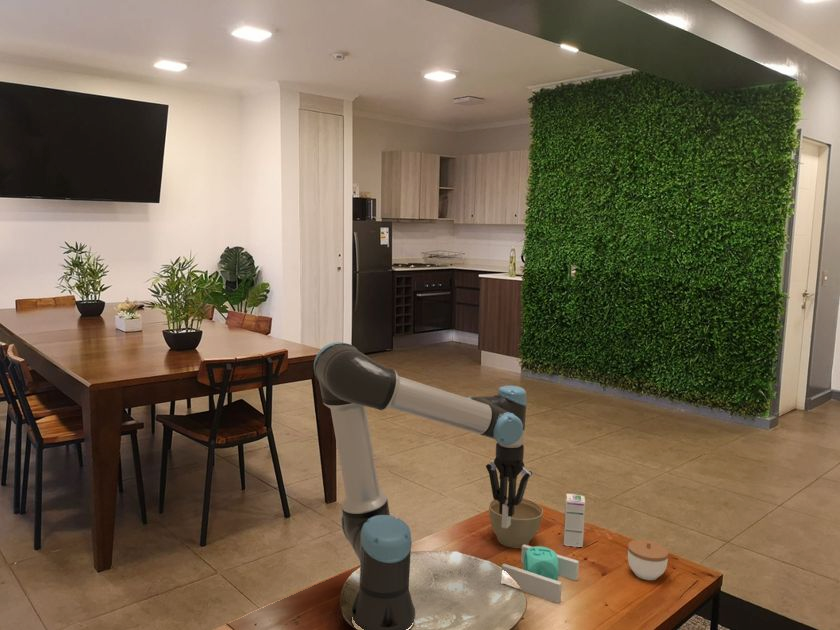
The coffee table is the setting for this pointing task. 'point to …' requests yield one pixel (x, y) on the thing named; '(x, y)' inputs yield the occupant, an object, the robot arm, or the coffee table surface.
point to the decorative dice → (541, 562)
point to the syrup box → (574, 520)
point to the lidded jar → (647, 559)
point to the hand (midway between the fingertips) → (506, 526)
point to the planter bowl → (516, 523)
